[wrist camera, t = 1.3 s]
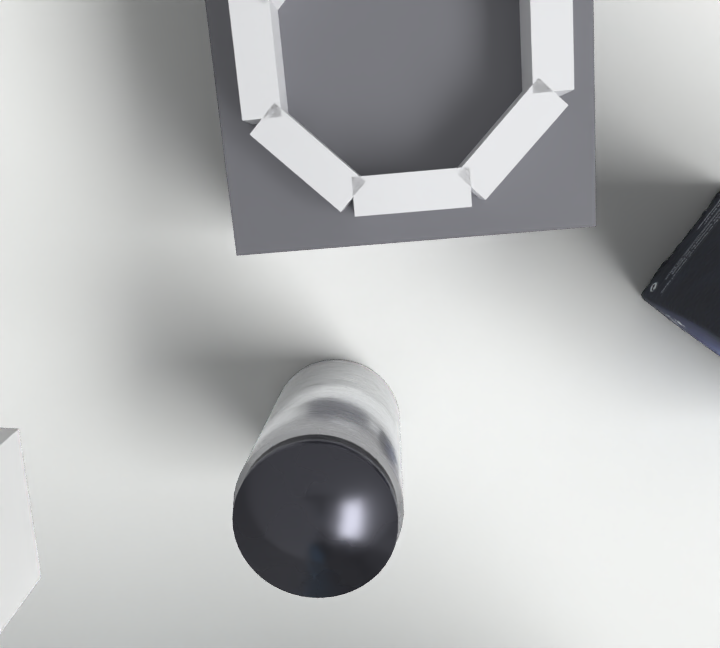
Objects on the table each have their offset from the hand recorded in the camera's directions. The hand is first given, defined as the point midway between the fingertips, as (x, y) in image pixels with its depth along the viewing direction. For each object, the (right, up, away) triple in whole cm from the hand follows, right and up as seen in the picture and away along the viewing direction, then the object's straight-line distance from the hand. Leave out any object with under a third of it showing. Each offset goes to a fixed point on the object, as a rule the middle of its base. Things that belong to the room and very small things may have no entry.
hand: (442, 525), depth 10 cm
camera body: (0, +15, +18) cm, 24 cm away
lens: (-2, -1, +22) cm, 22 cm away
